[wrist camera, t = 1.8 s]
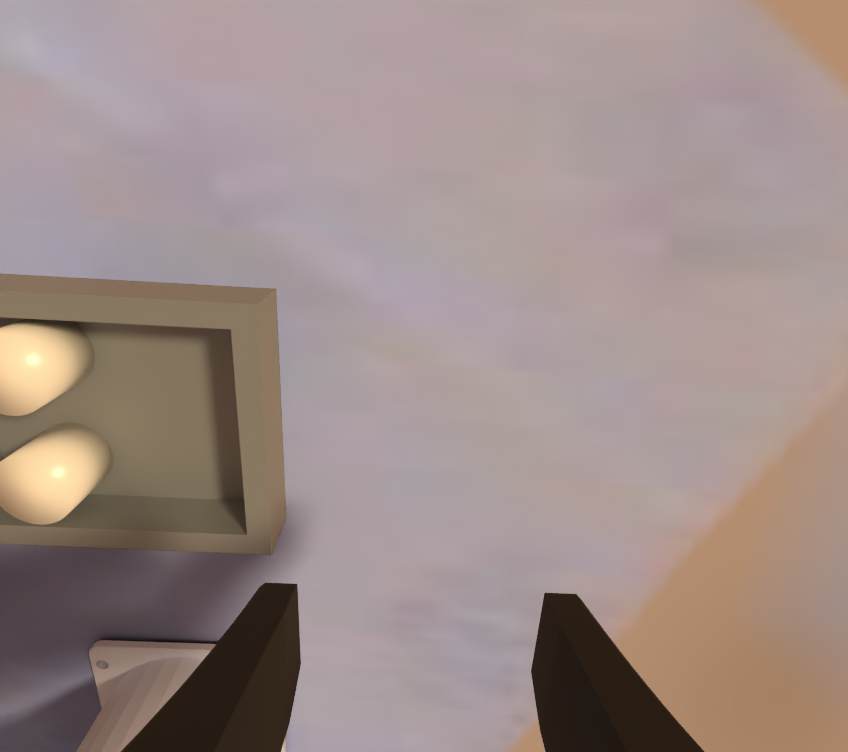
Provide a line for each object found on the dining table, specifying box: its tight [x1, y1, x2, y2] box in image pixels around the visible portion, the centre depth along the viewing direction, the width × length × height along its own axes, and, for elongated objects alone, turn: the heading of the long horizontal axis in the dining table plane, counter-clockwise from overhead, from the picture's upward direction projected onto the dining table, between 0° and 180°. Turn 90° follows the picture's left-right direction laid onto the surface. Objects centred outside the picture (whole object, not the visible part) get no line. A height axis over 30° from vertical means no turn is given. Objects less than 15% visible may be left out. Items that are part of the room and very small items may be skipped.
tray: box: [0, 274, 286, 555], centre depth 18 cm, size 9×11×3 cm
